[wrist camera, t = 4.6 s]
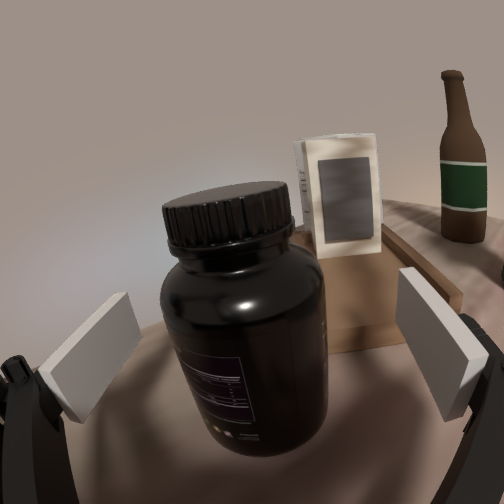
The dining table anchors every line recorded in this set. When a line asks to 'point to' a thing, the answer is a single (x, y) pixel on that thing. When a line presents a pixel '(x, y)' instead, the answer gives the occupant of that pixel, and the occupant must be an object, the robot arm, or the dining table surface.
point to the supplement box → (302, 173)
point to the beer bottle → (462, 168)
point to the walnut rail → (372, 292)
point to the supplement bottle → (247, 317)
